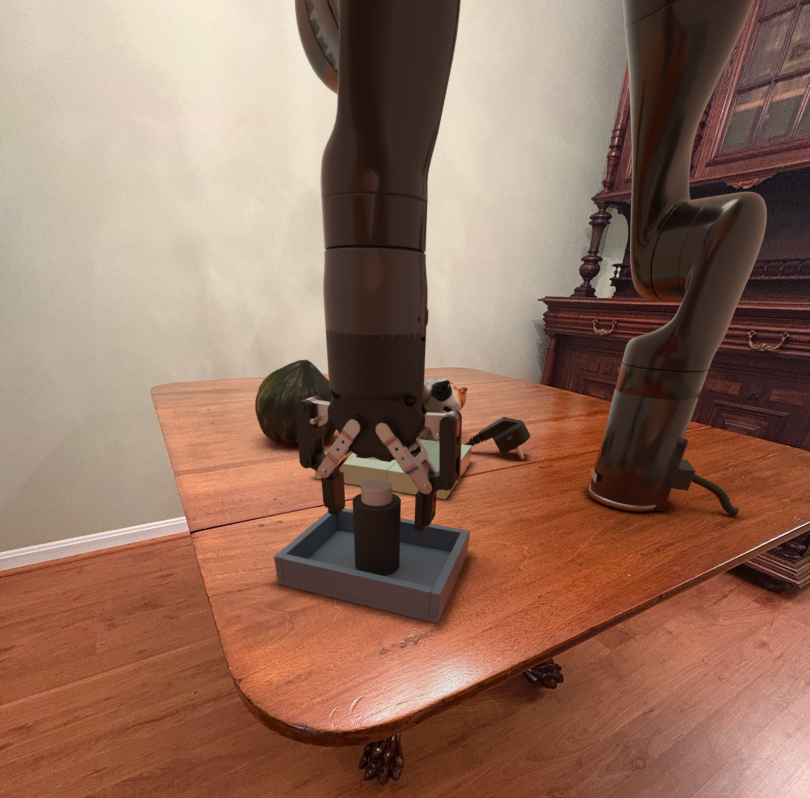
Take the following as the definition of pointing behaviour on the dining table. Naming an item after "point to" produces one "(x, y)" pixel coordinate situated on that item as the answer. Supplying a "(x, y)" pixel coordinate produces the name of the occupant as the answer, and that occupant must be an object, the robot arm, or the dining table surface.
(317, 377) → the squash
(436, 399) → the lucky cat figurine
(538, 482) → the dining table surface
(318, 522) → the blue-grey tray
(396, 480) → the drain board
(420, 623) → the dining table surface
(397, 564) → the dark brown bottle
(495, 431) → the power plug
